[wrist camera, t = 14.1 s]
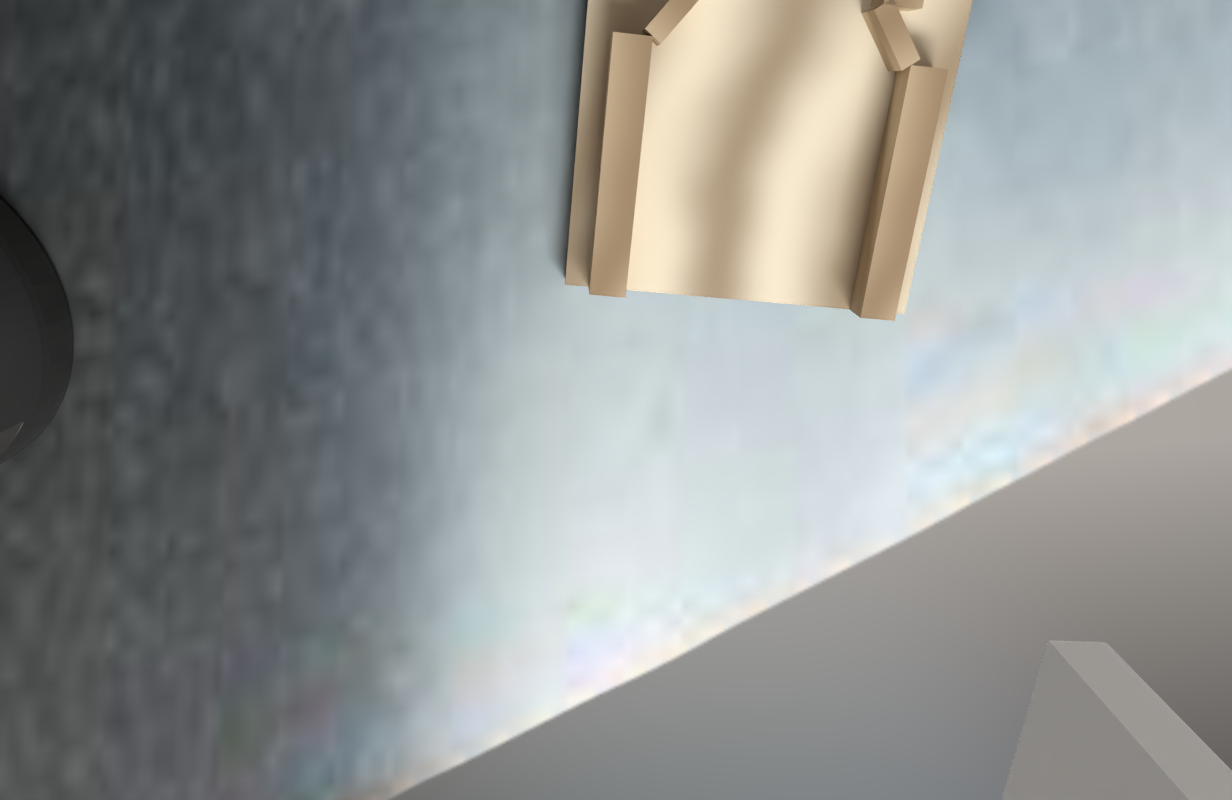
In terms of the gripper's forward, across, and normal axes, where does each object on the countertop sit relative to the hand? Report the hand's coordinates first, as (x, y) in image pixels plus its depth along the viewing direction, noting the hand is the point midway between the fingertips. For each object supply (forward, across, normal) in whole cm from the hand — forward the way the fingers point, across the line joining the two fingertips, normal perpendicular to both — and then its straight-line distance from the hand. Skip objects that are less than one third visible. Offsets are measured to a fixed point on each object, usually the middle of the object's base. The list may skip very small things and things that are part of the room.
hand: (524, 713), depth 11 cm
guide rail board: (+28, +8, +11) cm, 32 cm away
